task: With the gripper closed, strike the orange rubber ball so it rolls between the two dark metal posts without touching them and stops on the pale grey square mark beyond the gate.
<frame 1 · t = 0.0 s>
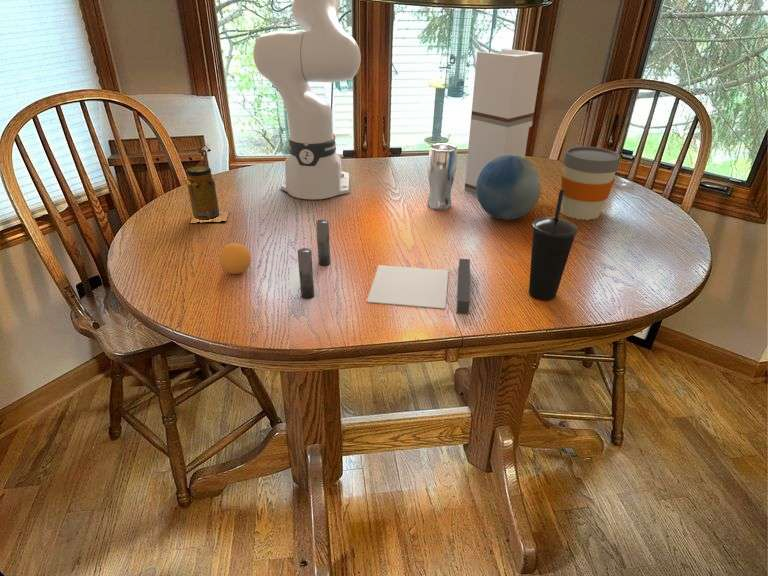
silver metal cylinder: (439, 206, 135), on the table
tall brown-banded box: (492, 192, 145), on the table
post 1: (307, 295, 96), on the table
ball: (234, 258, 102), on the table
post 2: (324, 263, 107), on the table
condiment: (210, 218, 127), on the table
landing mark: (409, 286, 99), on the table
drinking cup: (541, 294, 98), on the table
reusable coffee cup: (579, 213, 132), on the table
decorative ball: (503, 218, 129), on the table
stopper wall: (463, 290, 98), on the table
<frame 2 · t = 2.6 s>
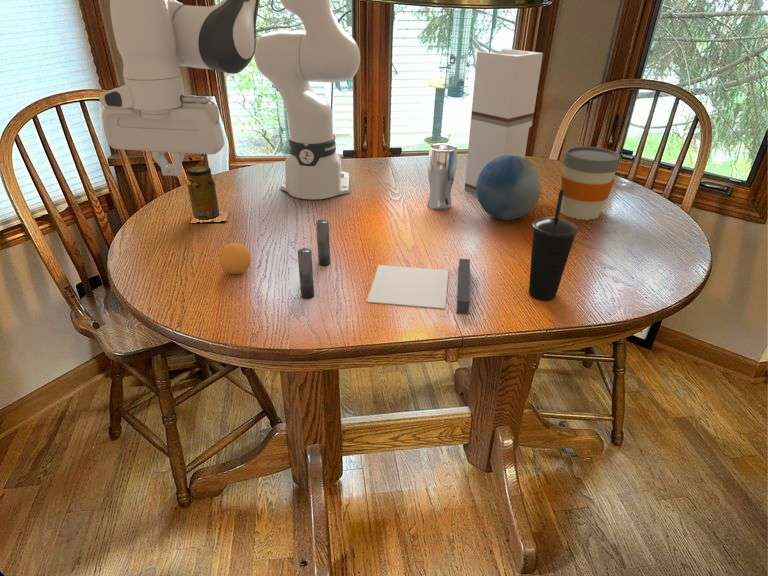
hand: (172, 175, 95), 19 cm above the table, tool pointing down, fingers closed
nothing on the table moved.
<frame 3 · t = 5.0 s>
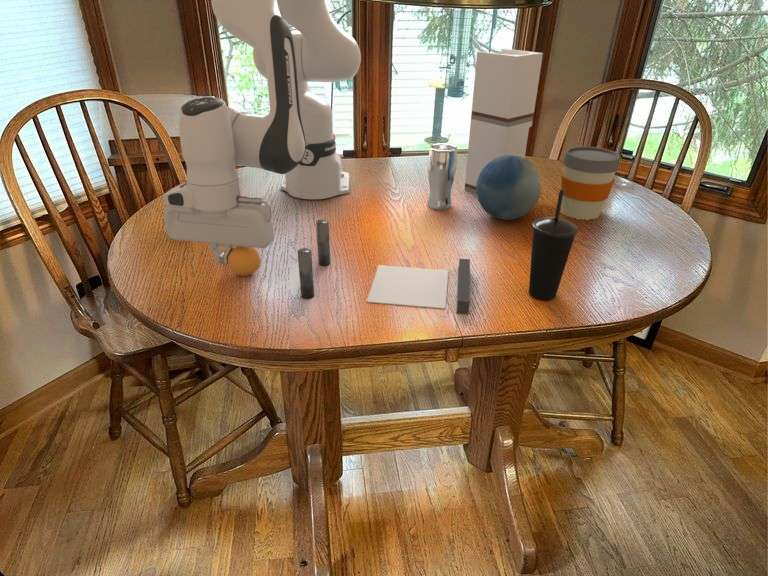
hand: (224, 262, 102), 2 cm above the table, tool pointing down, fingers closed
ball: (244, 260, 101), on the table, touching gripper
everything else where it was.
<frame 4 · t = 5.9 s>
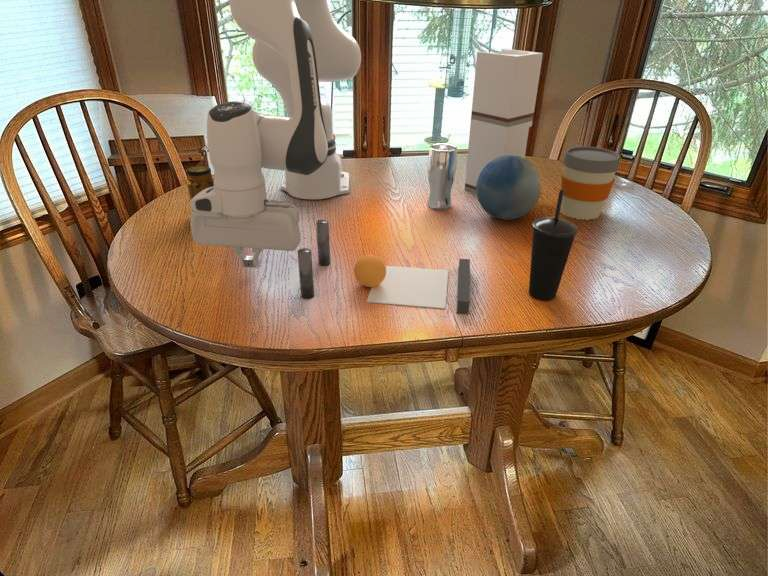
hand: (250, 266, 102), 2 cm above the table, tool pointing down, fingers closed
ball: (370, 270, 98), on the table
everything else where it was.
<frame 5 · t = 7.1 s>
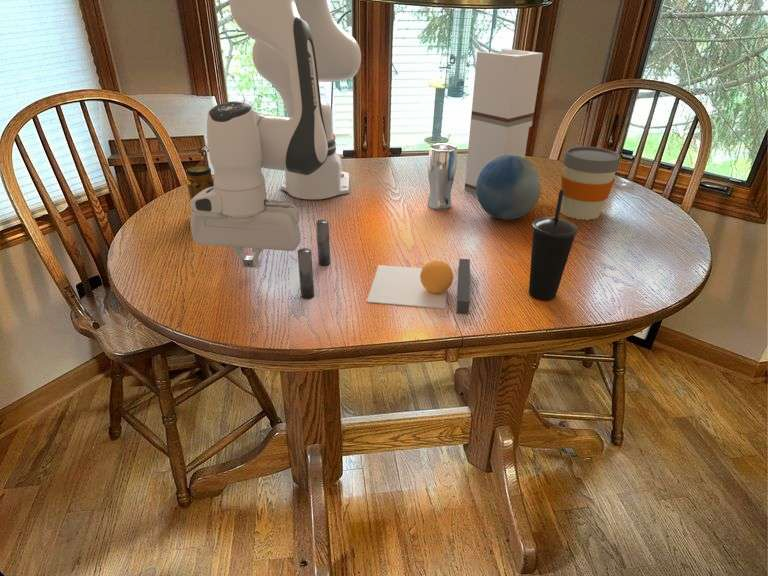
hand: (250, 266, 102), 2 cm above the table, tool pointing down, fingers closed
ball: (436, 276, 97), on the table
everything else where it was.
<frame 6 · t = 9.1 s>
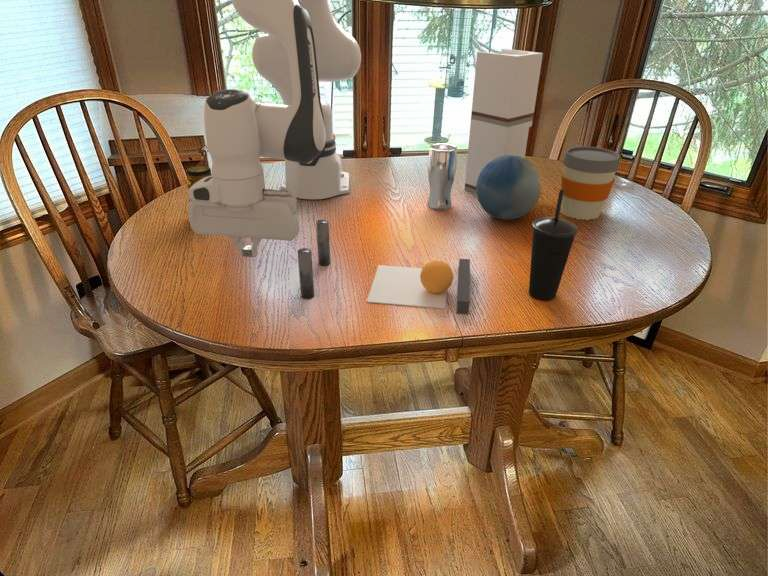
hand: (249, 255, 102), 4 cm above the table, tool pointing down, fingers closed
nothing on the table moved.
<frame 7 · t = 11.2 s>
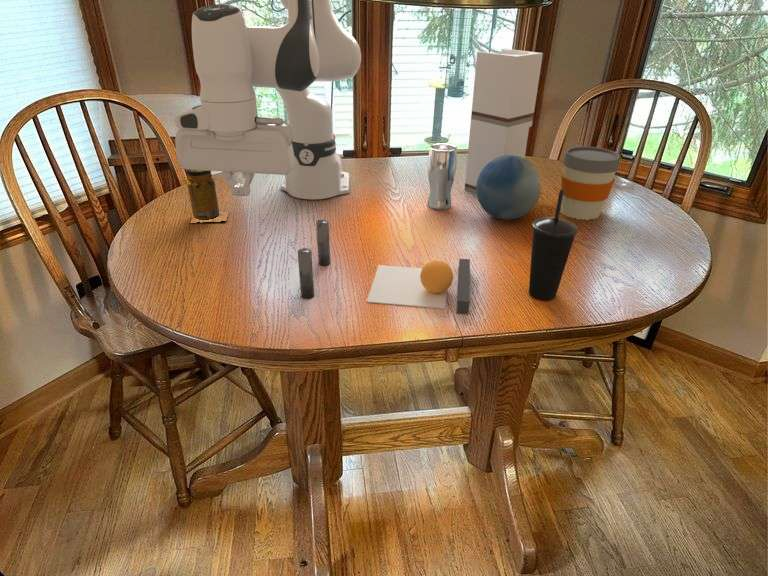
hand: (241, 194, 95), 16 cm above the table, tool pointing down, fingers closed
nothing on the table moved.
at the end: ball 5.1 cm from the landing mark (horizontally); ball never touched post 2; ball never touched post 1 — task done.
